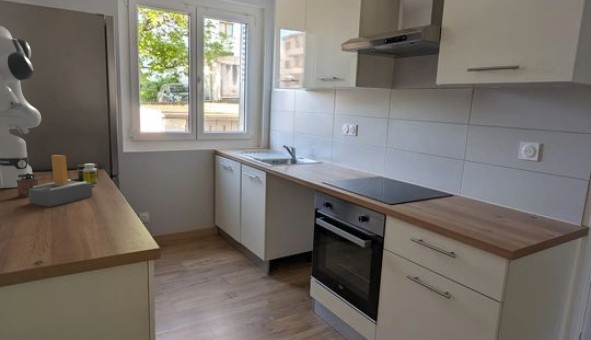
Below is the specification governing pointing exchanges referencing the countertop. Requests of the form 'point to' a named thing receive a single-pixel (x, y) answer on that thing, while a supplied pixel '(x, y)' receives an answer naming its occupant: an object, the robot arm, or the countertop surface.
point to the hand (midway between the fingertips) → (25, 132)
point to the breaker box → (59, 193)
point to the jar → (80, 170)
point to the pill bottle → (90, 174)
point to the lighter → (26, 184)
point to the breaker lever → (59, 169)
